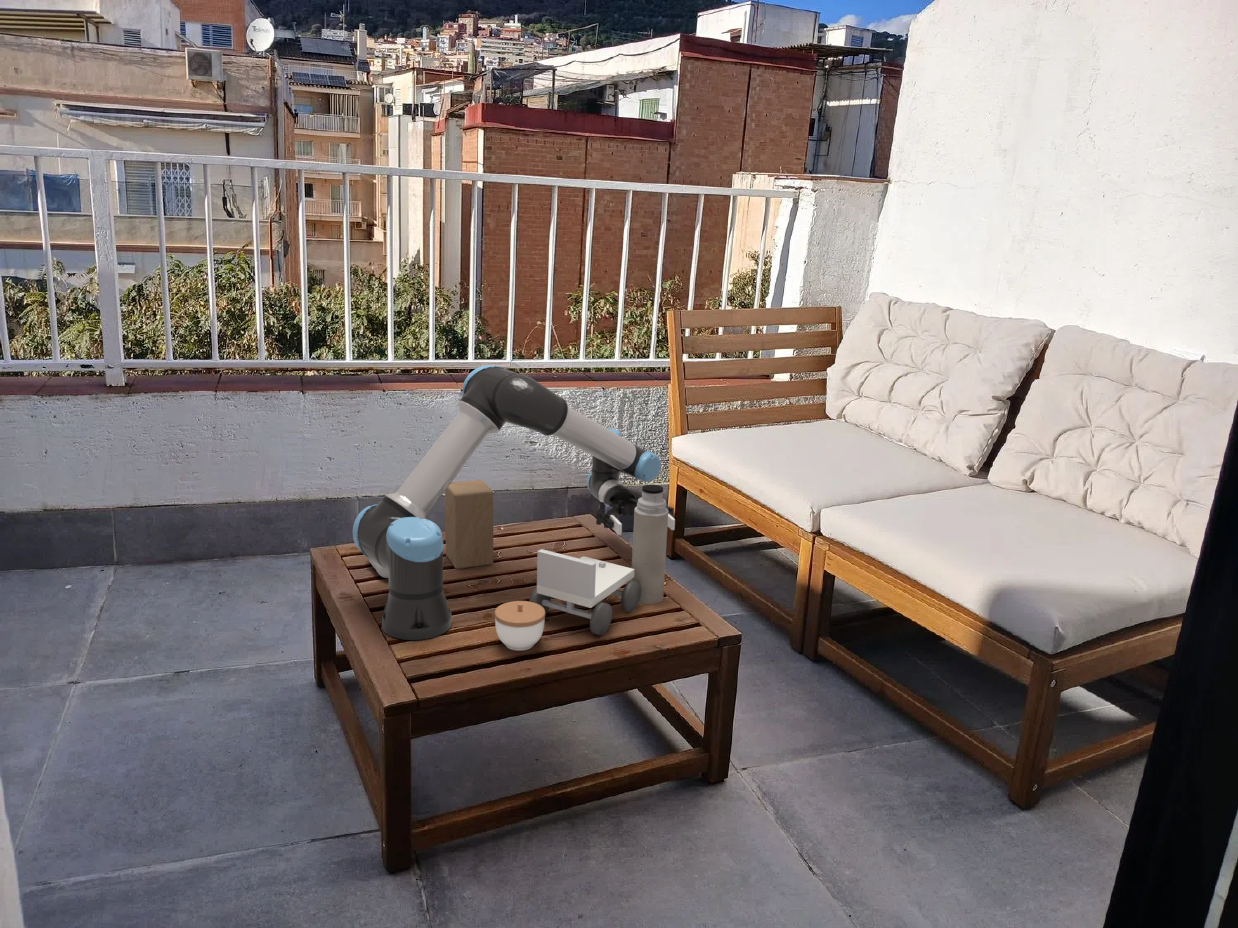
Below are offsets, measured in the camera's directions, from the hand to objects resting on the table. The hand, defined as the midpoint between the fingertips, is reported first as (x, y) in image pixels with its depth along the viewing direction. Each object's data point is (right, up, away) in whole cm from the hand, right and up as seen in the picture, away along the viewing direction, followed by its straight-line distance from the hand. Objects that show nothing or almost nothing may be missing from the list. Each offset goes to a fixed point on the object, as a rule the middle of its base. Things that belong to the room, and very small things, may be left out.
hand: (647, 527), depth 233 cm
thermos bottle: (0, -17, +2) cm, 17 cm away
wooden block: (-45, -10, +19) cm, 50 cm away
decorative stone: (-63, -12, +12) cm, 65 cm away
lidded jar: (-28, -24, -23) cm, 44 cm away
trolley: (-14, -19, -8) cm, 25 cm away
